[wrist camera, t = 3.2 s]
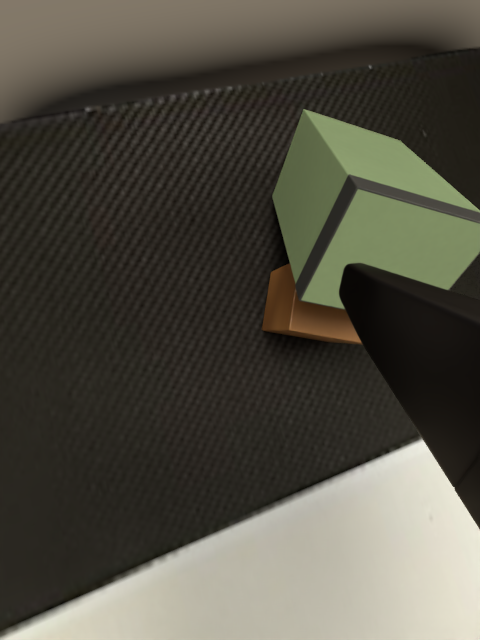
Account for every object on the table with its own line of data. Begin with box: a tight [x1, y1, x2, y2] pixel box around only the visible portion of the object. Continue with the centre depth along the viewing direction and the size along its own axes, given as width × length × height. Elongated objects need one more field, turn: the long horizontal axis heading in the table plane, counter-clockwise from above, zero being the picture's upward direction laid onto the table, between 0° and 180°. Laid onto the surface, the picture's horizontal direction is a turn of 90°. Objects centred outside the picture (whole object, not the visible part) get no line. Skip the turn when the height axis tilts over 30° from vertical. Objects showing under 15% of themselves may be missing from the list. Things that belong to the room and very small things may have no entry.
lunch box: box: [272, 110, 480, 310], centre depth 20 cm, size 12×7×12 cm, turn 170°
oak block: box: [262, 263, 362, 344], centre depth 23 cm, size 4×5×5 cm
